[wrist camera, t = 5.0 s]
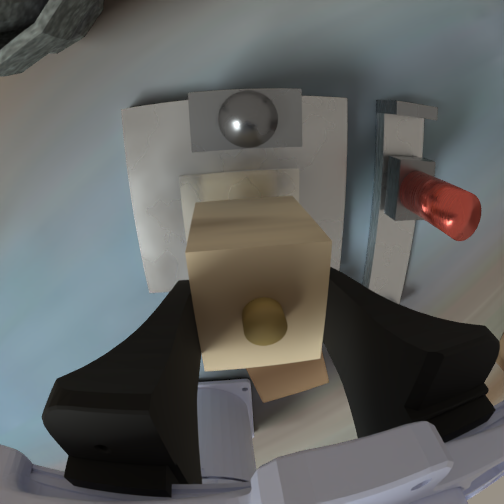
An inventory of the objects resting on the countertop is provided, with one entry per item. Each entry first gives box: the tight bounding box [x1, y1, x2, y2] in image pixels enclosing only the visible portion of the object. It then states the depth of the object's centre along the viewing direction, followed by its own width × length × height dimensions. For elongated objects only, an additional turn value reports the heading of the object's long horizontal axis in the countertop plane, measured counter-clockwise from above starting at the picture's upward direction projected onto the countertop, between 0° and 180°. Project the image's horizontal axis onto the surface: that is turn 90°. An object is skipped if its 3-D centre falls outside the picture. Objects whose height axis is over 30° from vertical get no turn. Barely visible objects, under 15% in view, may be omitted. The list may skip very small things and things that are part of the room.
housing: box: [185, 196, 332, 371], centre depth 13 cm, size 5×4×6 cm
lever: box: [384, 156, 481, 241], centre depth 15 cm, size 4×3×6 cm
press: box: [121, 88, 347, 293], centre depth 15 cm, size 11×12×7 cm
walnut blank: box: [246, 349, 329, 403], centre depth 20 cm, size 5×4×5 cm
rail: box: [363, 100, 438, 304], centre depth 19 cm, size 15×3×2 cm, turn 2°
